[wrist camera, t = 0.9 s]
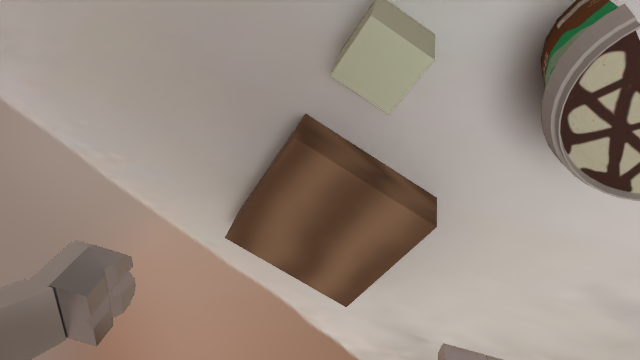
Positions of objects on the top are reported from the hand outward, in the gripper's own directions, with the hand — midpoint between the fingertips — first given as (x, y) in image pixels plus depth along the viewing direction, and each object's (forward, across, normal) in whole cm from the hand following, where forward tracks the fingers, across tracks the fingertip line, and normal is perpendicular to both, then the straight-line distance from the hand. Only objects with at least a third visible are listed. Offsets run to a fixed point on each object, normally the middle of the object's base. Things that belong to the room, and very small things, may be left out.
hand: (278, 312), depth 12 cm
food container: (+29, -13, +1) cm, 32 cm away
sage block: (+28, +1, +1) cm, 28 cm away
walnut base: (+29, +3, +18) cm, 34 cm away
